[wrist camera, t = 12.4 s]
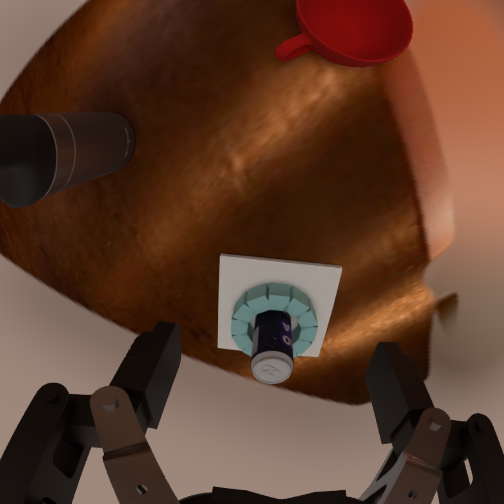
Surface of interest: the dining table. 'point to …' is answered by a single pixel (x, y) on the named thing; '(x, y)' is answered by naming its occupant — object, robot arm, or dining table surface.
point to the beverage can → (272, 347)
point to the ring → (274, 299)
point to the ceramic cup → (350, 31)
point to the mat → (265, 271)
